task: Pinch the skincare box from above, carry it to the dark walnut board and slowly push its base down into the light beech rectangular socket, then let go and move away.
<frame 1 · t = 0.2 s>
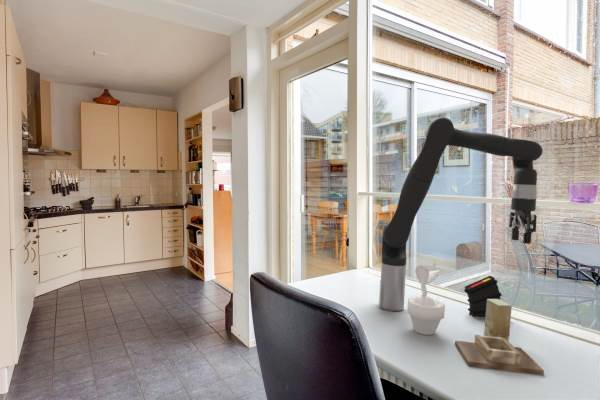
hand: (520, 241, 127), 29 cm above the table, tool pointing down, fingers open, 8 cm apart
potted plant: (425, 331, 113), on the table
skincare box: (496, 340, 109), on the table
magazine: (482, 316, 130), on the table
socket board: (495, 358, 96), on the table
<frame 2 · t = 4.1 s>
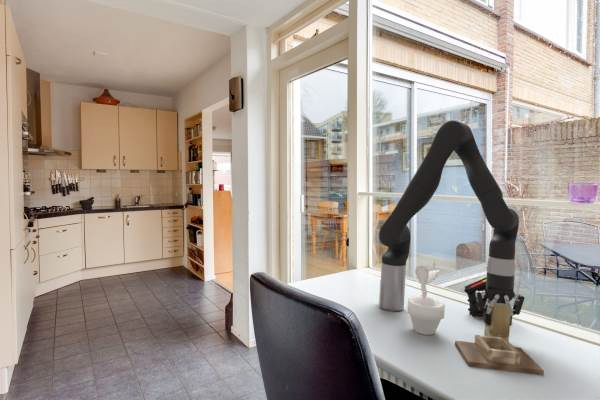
hand: (497, 325, 109), 5 cm above the table, tool pointing down, fingers closed on skincare box, 5 cm apart
skincare box: (496, 340, 109), on the table, touching gripper
everything else where it was.
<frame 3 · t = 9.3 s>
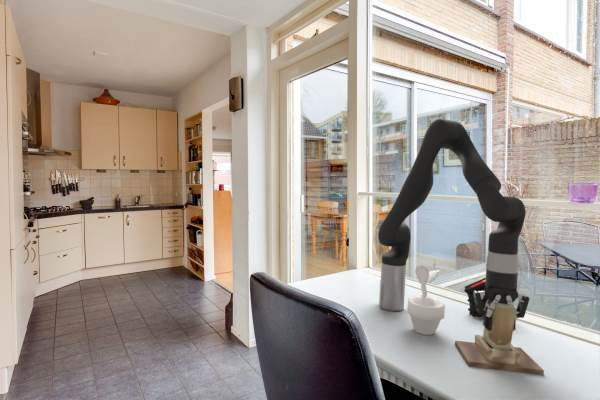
hand: (498, 330, 95), 8 cm above the table, tool pointing down, fingers closed on skincare box, 5 cm apart
skincare box: (496, 345, 96), point 4 cm above the table, touching gripper, socket board
everything else where it was.
when the fingers open (7 cm above the table, at t = 10.1 s): skincare box stays where it is, resting on socket board.
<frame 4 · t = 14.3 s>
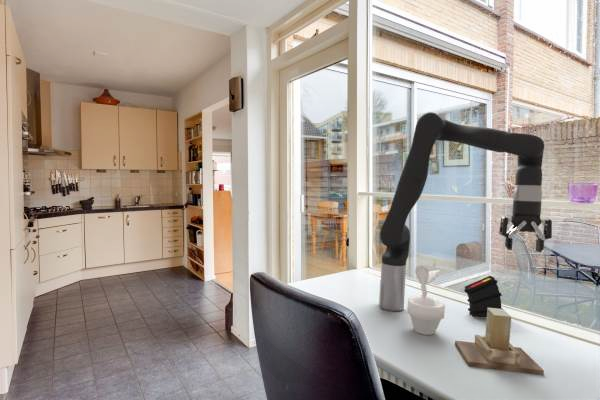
hand: (523, 250, 110), 28 cm above the table, tool pointing down, fingers open, 8 cm apart
skincare box: (495, 355, 96), point 1 cm above the table, touching socket board
everything else where it was.
at the end: skincare box 0.6 cm off-centre on the socket board, point 1.0 cm above the socket board's base; skincare box tilted 0°; the gripper is holding nothing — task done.
